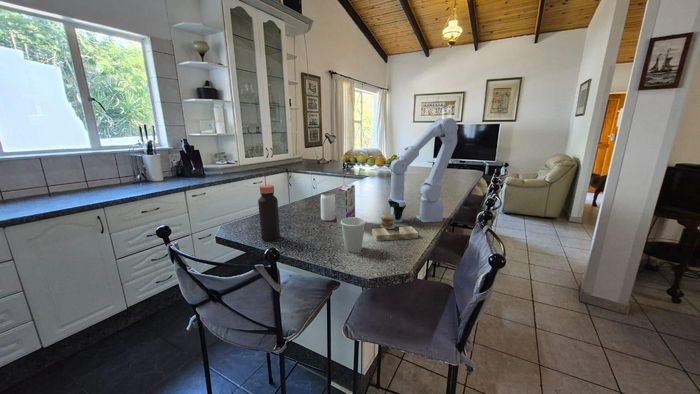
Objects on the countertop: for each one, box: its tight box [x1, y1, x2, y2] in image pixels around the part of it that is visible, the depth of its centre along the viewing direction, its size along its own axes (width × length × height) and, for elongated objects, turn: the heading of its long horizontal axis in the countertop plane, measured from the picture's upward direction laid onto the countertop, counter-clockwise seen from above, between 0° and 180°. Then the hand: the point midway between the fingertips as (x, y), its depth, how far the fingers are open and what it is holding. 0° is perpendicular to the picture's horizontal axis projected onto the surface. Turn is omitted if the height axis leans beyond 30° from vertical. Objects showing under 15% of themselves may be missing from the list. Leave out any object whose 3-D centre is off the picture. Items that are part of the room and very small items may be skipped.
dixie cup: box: [341, 216, 367, 253], centre depth 92 cm, size 8×8×10 cm
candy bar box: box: [335, 183, 356, 229], centre depth 116 cm, size 11×5×16 cm, turn 161°
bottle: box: [257, 184, 281, 242], centre depth 100 cm, size 7×7×20 cm
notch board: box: [371, 226, 419, 241], centre depth 105 cm, size 16×7×2 cm, turn 99°
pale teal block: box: [390, 207, 403, 224], centre depth 121 cm, size 4×4×6 cm
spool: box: [379, 213, 396, 231], centre depth 113 cm, size 6×6×5 cm
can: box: [320, 191, 336, 222], centre depth 123 cm, size 6×6×12 cm
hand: (396, 217), depth 121 cm, fingers closed on pale teal block, 4 cm apart
